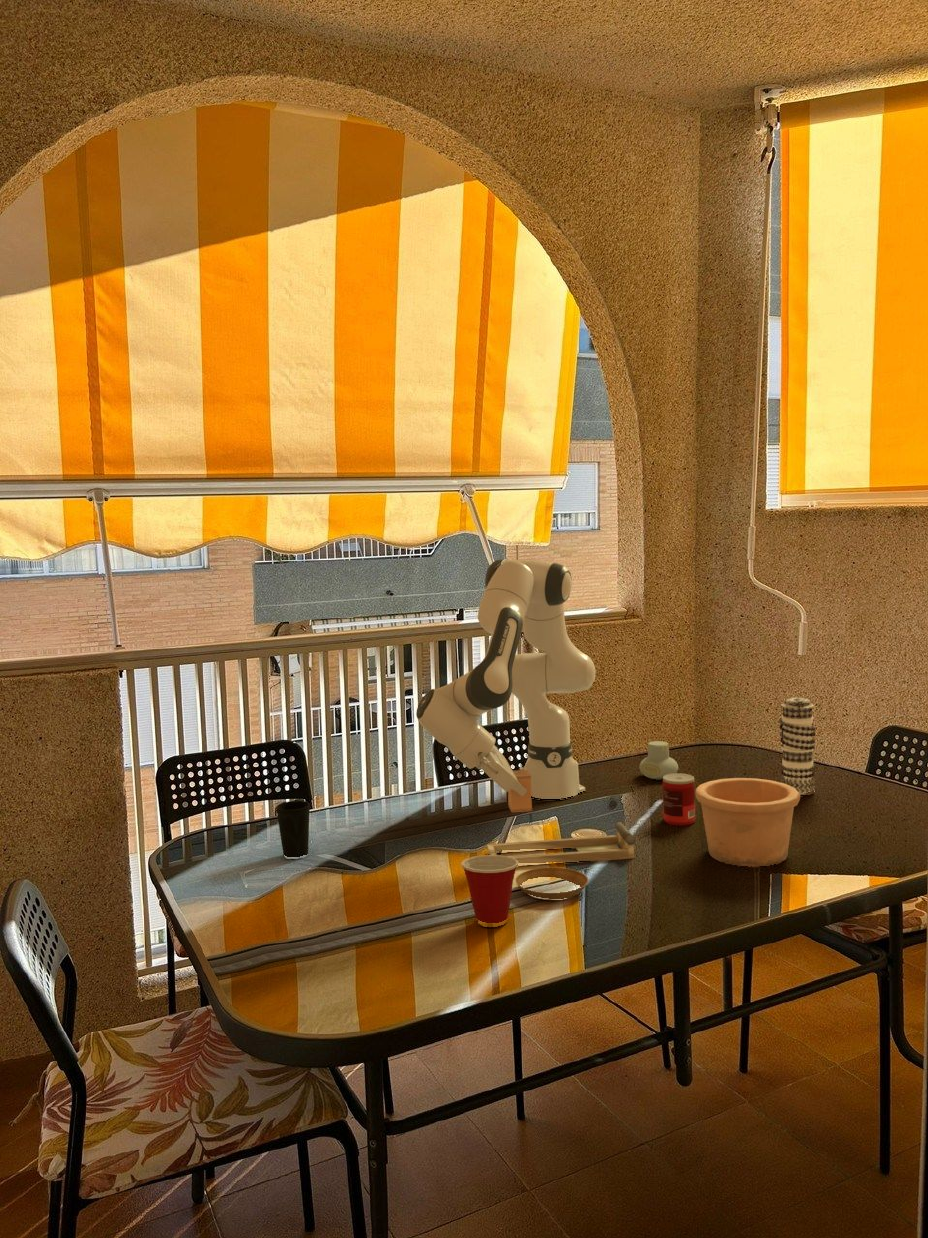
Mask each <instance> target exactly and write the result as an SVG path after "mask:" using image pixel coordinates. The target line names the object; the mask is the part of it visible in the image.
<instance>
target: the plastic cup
mask: <svg viewBox="0 0 928 1238" xmlns="http://www.w3.org/2000/svg"><path fill="white" fill-rule="evenodd" d="M512 857H513V856H506V855H501V854H496V855H488V854H484V855H477V856H472V857H467V858H465V859H464V860H462V861H461V867H462V868H463V870H464V875H465V876H466V877H465V878H466V881H467V884H468V891H469V895H470V900H471V904H472V908H473V912H474V917H475V919H476V918H477V919H478V920H480V921H482V922H486V923H499V922H502V921H504V920H506V919H507V918H509V910H510V906H511V898H512V890H513V886H514V885H513V884H514V879H515V874H516V869H517V868H518V867H517V866H518V860H516V859H514V858H512Z"/></svg>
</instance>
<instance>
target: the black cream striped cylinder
mask: <svg viewBox="0 0 928 1238" xmlns="http://www.w3.org/2000/svg"><path fill="white" fill-rule="evenodd" d="M781 706H782V715H781V718H779V721H778V723H779V727H778V728H779V730H781V732H779V736H780V739H779V741H780V742H781V745H780V746H781V747H780V748H781V750H782V761H781V762H782V763H781V765H780V768H781V769H782V770H781V772H780V774H781V775H782V776H781V777H780V782H781V783H784V784H787V785H789V786H791V787H794V788H795V789H796V790H797V791H798V792H799V793H800V794H804V793H808V792H811V791H812V790H815V788H816V784H815V783H816V780H815V778H814V777H815V772H814V771H815V769H816V768H815V766H814V759H813V751H815V749H816V746H815V745H814V744H815V743H816V740H814V739H813V737H816V733H815V732H814V731H816V728H817V727H815V726H814V725H813V723H814V722H815V719H814V716H813V707H814V704H813V703H811V701H810V700H809V699H808V698H805V697H789V698H786V700H785V701H784V702H783V703H781Z"/></svg>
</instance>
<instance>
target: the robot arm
mask: <svg viewBox="0 0 928 1238" xmlns="http://www.w3.org/2000/svg"><path fill="white" fill-rule="evenodd" d="M484 577H485V579H484V581H485V582H484V584H485V590H484V592H483V595H482V597H481V601H480V603H479V606H478V610H477V612H478V613H477V620H478V623H479V625H480V626H481V628H482V629H483V630H484V631H485V632H486V633H488V634H490V636H491V637H490V640H489V643H488V646H487V649H486V652H485V656H484V658H483V659H482V660H481V662H480V663H479V664H477V665H476V666H475V667H474V668H473V669H471V670H469V671H468V672H466V673H465V674H463V675H461V676H460V677H457V678H456V679H454V680H453V681H451V682H450V683H449V682H448V683H447V684H446V685H443V686H440V687H439V688H431V689H429V690H428V691H427V692H425V694H424V695H423V697H422V698H421V700H420V701H419V703H418V705H417V707H416V713H415V715H416V718H417V721H418V722H419V723H420V724H421V726H422V727H423V729H425V731H427V733H428V734H429V735H430V736H431V737H433V739H435V740H436V741H437V742H438V743H440V744H442V745H444V746H445V747H446V748H447V749H449V752H450V753H451V754H452V755H453V756H454V757H456V759H457V760H459V762H460V763H462V764H463V765H464V766H465V767H467V768H468V769H469V770H471V769H474V768H476V769H478V770H482V771H483V772H484V773H485V774H486V776H488V777H489V778H490V779H491V780H493V782H494V783H496V784H497V785H498V786H499V787H500V788H501V789H502V790H504V791H505V792H507V793H508V791H510V790H511V789H513V790H514V791H516V792H517V793H518V794H520V795H521V796H523V795H524V794H525V793H526V792H527V790H526V788H525V787H524V786H523V785H522V784H520V783H519V782H518V780H517V778H516V776H515V774H514V773H513V771H514V770H513V769H512V768H511V765H510V764H509V762H508V760H507V759H506V758H505V756H504V755H503V753H502V752H501V751H500V750H499V748H498V747H497V746H496V745H495V744H496V737H494V736H493V735H492V734H491V733H490V731H487V730H486V729H485V728H484V727H483V726H482V725H481V724H479V722H478V719H479V717H480V716H481V715H484V714H486V713H487V712H489V711H492V710H495V709H499V708H501V707H503V706H504V705H506V704H507V703H508V701H509V699H510V698H511V696H512V695H514V696H515V697H516V698H517V700H518V701H519V702H520V704H521V705H522V707H523V709H524V711H525V713H526V718H527V724H528V734H529V742H528V745H527V755H528V758H527V760H526V763H525V765H524V766H523V767H519V770H528V772H529V773H530V775H531V796H532V797H535V798H541V799H560V800H562V799H561V798H566V799H568V798H567V797H571V796H573V797H576V796H577V795H578V793H579V794H581V793H580V792H582V793H584V792H583V791H585V792H586V787H585V786H584V785H582V784H580V775H579V763H578V762H577V761H576V760H575V759H574V758H573V745H572V741H571V735H570V734H571V733H570V732H571V730H570V729H571V725H570V716H569V714H568V712H567V711H566V710H565V709H563V708H562V707H561V706H559V705H556V704H554V703H552V702H550V701H549V699H548V698H547V696H546V694H572V693H573V694H575V693H579V692H583V691H587V690H589V689H590V688H591V687H592V685H593V684H594V682H595V678H596V673H597V671H596V667H595V664H594V662H593V660H592V658H591V657H590V656H589V655H588V654H585V653H584V652H582V651H581V650H579V649H578V648H577V646H575V644H574V643H573V642H572V640H571V639H570V637H569V635H568V632H567V625H566V618H565V606H564V603H565V602H567V600H568V599H569V597H570V594H571V591H572V586H573V581H572V573H571V572H570V570H569V569H568V567H567V566H565V565H563V564H561V563H557V562H553V563H550V562H547V561H542V560H535V559H528V560H527V559H526V560H525V559H508V558H502V559H501V558H500V559H497V560H494V561H493V562H492V563H490V565H488V568H487V569H486V572H485V576H484ZM522 632H523V635H524V638H525V640H526V641H527V643H529V644H530V645H531V646H532V647H534V648H536V649H538V650H540V651H542V652H525V653H523V652H522V653H518V654H517V650H518V647H519V643H520V640H521V635H522ZM571 798H572V797H571Z"/></svg>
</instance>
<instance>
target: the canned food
mask: <svg viewBox="0 0 928 1238" xmlns="http://www.w3.org/2000/svg"><path fill="white" fill-rule="evenodd" d="M695 783H696V782H695V776H694V775H691V774H688V773H683V772H682V773H681V772H680V773H679V772H677V773H674V774H668V775H665V776H663V780H662V808H663V809H662V811H663V820H664V822H665V823H666V824H669V825H671V826H680V827H681V826H682V827H683V826H689V825H692V824H693V823H694V822H695V820H696V796H695V790H696V787H695V786H696V785H695Z"/></svg>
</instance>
